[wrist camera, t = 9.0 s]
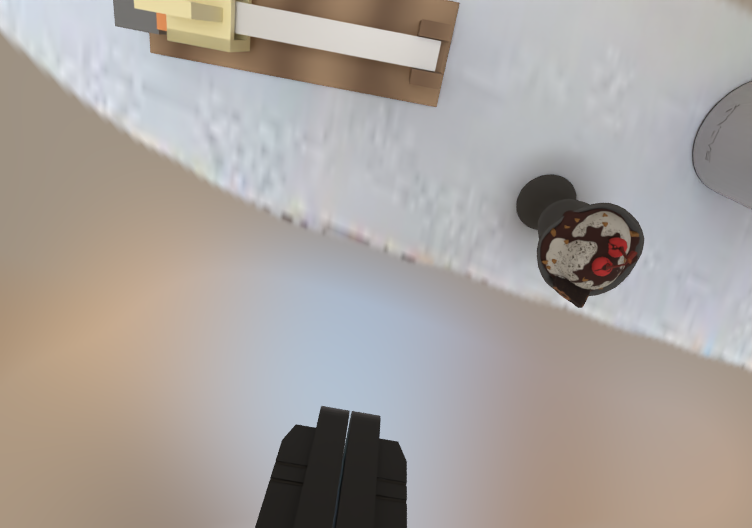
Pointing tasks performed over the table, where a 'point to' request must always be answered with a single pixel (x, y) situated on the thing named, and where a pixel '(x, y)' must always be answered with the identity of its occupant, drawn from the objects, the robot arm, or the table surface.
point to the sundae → (579, 239)
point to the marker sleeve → (200, 22)
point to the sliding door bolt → (304, 33)
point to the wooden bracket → (350, 5)
